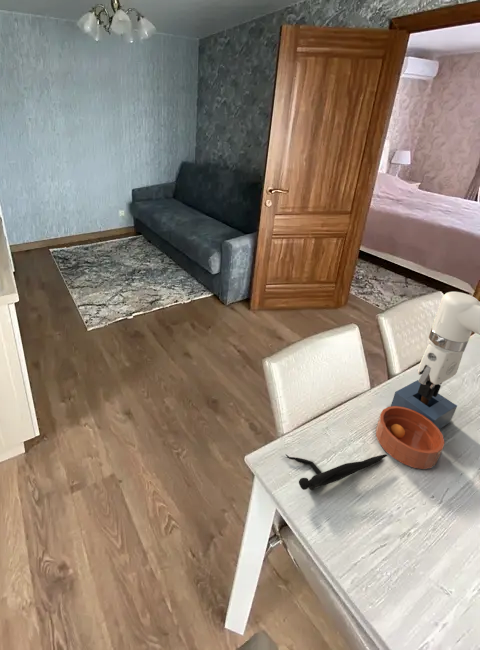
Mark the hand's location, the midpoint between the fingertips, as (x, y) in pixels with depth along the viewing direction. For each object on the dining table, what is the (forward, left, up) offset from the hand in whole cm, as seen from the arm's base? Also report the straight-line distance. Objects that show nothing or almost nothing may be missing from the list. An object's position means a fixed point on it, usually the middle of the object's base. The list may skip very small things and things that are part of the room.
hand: (427, 394), depth 94 cm
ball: (-1, +13, -5) cm, 14 cm away
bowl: (-4, +13, -8) cm, 16 cm away
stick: (0, 0, -8) cm, 8 cm away
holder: (0, 0, -8) cm, 8 cm away
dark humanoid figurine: (0, +34, -8) cm, 35 cm away
